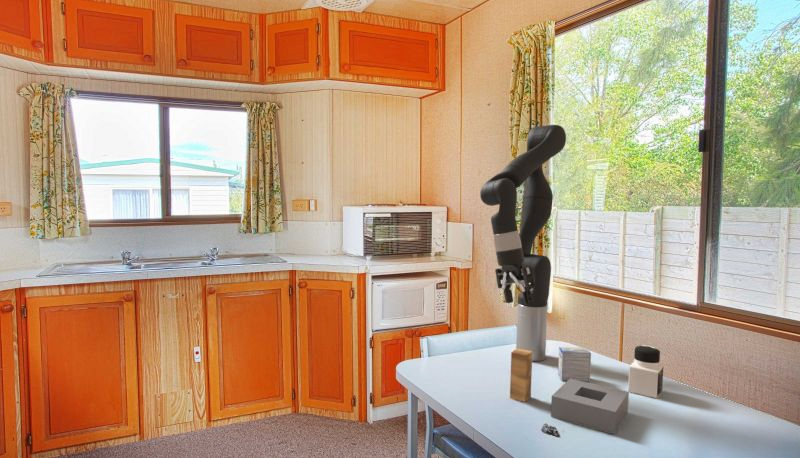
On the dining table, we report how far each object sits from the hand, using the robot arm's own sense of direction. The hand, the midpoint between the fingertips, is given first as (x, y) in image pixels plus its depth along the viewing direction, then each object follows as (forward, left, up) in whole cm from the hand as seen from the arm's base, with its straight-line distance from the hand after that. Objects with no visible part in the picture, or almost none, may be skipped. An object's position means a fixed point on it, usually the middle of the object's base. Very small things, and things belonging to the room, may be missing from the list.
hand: (518, 303), depth 141 cm
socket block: (+14, +24, -21) cm, 35 cm away
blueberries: (+28, +20, -22) cm, 41 cm away
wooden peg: (+15, +7, -21) cm, 27 cm away
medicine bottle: (-10, +32, -21) cm, 40 cm away
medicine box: (-7, +14, -21) cm, 26 cm away
